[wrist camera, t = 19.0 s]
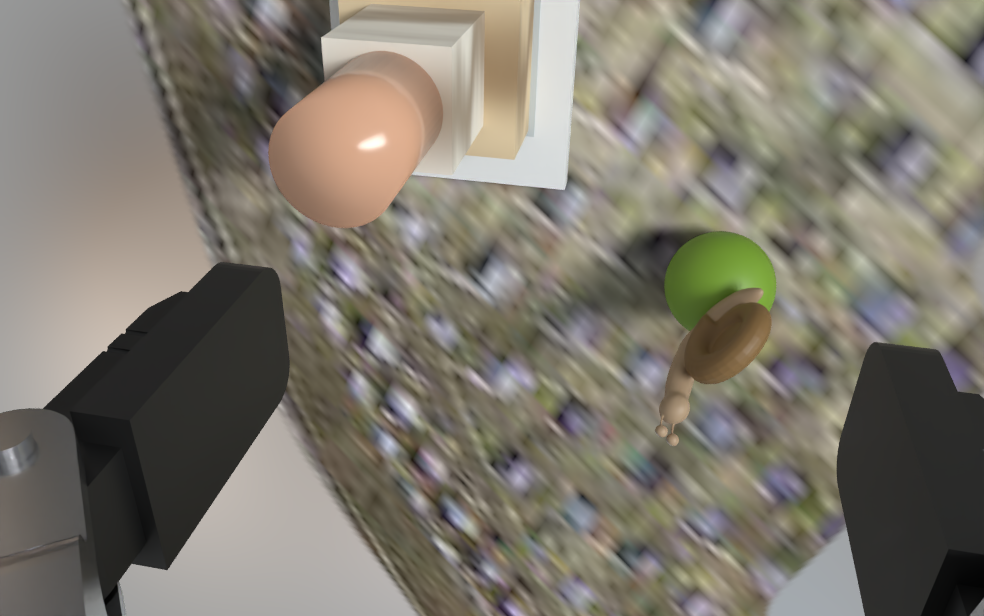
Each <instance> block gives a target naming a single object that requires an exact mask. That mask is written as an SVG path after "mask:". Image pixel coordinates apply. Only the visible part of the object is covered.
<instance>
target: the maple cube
mask: <svg viewBox="0 0 984 616" xmlns="http://www.w3.org/2000/svg"><path fill="white" fill-rule="evenodd" d="M321 43H322V55H323V67H324V80H325V81H326V80H327V79H329V78H330V77H331V76H332V75H334V74H335V73H336V72H337V71H339V70H340V69H341V68H342V67H344V66H345V65H346V64H347V63H349V62H350V61H351V60H353V59H354V58H356V57H357V56H360V55H362V54H364V53H368V52H372V51H389V52H394V53H398V54H401V55H403V56H406V57H408V58H409V59H411V60H413V61H414V62H416V63H417V64H418V65H420V66H421V67H422V68H423V69H424V70H425V71H426V72H427V73H428V75H429V76H430V77H431V78H432V80H433V82H434V83H435V85H436V87H437V89H438V91H439V94H440V97H441V100H442V105H443V122H442V128H441V131H440V134H439V136H438V138H437V140H436V141H435V143H434V144H433V146H432V147H431V148H430V150H429V151H428V152H427V154H426V155H425V157H424V158H423V159H422V161H421V162H420V163H419V165H418V166H417V168H416V169H415V170H414V172H421V173H432V174H442V175H453V174H454V172H455V170H456V169H457V167H458V165H459V164H460V162H461V161H462V159H463V157H464V156H465V154H466V153H467V151H468V149H469V148H470V146H471V144H472V143H473V141H474V140H475V138H476V136H477V135H478V133H479V132H480V130H481V128H482V127H483V116H484V47H485V11H476V10H461V9H445V8H430V7H414V6H399V5H384V4H370V5H369V6H367V7H366V8H364V9H363V10H361V11H360V12H358V13H357V14H355V15H354V16H352V17H351V18H349V19H348V20H346V21H345V22H343V23H342V24H340V25H339V26H338V27H336V28H335V29H333V30H332V31H330V32H329V33H327V34H326V35H324V36H323V37H321Z"/></svg>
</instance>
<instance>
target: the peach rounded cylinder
mask: <svg viewBox="0 0 984 616" xmlns="http://www.w3.org/2000/svg"><path fill="white" fill-rule="evenodd" d="M442 122H443V105H442V100H441V97H440V94H439V91H438V89H437V87H436V85H435V83H434V82H433V80H432V78H431V77H430V76H429V75H428V73H427V72H426V71H425V70H424V69H423V68H422V67H421V66H420V65H418V64H417V63H416V62H414V61H413V60H411V59H409V58H408V57H406V56H403V55H401V54H398V53H394V52H389V51H372V52H368V53H364V54H362V55H360V56H357V57H356V58H354V59H353V60H351V61H350V62H349V63H347V64H346V65H345V66H344V67H342V68H341V69H340V70H339V71H337V72H336V73H335V74H334V75H332V76H331V77H330V78H329V79H327V80H326V81H325V82H324V83H322V84H321V85H320V86H319V87H317V88H316V89H315V90H314V91H312V92H311V93H310V94H309V95H307V96H306V97H305V98H303V99H302V100H301V101H300V102H298V103H297V104H296V105H295V106H293V107H292V108H291V109H290V110H288V111H287V112H286V113H285V114H284V115H283V116H282V117H281V118H280V119H279V121H278V122H277V124H276V125H275V127H274V129H273V132H272V134H271V137H270V142H269V151H268V154H269V164H270V169H271V172H272V175H273V178H274V180H275V182H276V185H277V186H278V188H279V190H280V191H281V193H282V194H283V196H284V197H285V198H286V199H287V201H288V202H289V203H290V204H291V205H292V206H293V207H294V208H296V209H297V210H298V211H299V212H300V213H302V214H303V215H305V216H306V217H308V218H310V219H312V220H313V221H316V222H318V223H320V224H324V225H327V226H331V227H337V228H352V227H357V226H362V225H364V224H367V223H369V222H371V221H373V220H375V219H376V218H377V217H379V216H380V215H381V214H382V213H383V212H384V211H385V210H386V209H387V207H388V206H389V205H390V203H391V202H392V201H393V199H394V198H395V196H396V195H397V194H398V192H399V191H400V190H401V188H402V187H403V185H404V184H405V183H406V181H407V180H408V179H409V177H410V176H411V174H412V173H413V172H414V170H415V169H416V168H417V166H418V165H419V163H420V162H421V161H422V159H423V158H424V157H425V155H426V154H427V152H428V151H429V150H430V148H431V147H432V146H433V144H434V143H435V141H436V140H437V138H438V136H439V134H440V131H441V128H442Z"/></svg>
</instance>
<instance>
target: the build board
mask: <svg viewBox="0 0 984 616" xmlns="http://www.w3.org/2000/svg"><path fill="white" fill-rule="evenodd" d="M329 6H330V19H331V31H332V30H333V29H335V28H336V27H338V26H339V25H340V21H339V6H338V0H329ZM579 8H580V0H534V18H533V40H532V62H531V83H530V105H529V127H528V132H527V135H526V137H525V139H524V141H523V143H522V145H521V147H520V149H519V151H518V153H517V155H516V157H515V160H511V159H500V158H490V157H479V156H469V155H465V156H464V157H463V159H462V161H461V162H460V164H459V165H458V167H457V169H456V170H455V172H454V174H453V175H442V174H432V173H421V172H413V173H412V174H411V175H420V176H430V177H440V178H450V179H460V180H470V181H480V182H490V183H500V184H510V185H521V186H531V187H541V188H551V189H561V190H565V187H566V183H567V173H568V160H569V146H570V132H571V118H572V104H573V91H574V77H575V63H576V49H577V36H578V22H579Z"/></svg>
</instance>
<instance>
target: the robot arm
mask: <svg viewBox="0 0 984 616" xmlns="http://www.w3.org/2000/svg"><path fill="white" fill-rule="evenodd" d="M289 365H290V361H289V351H288V343H287V335H286V327H285V319H284V310H283V302H282V294H281V286H280V281H279V277H278V275H277V273H276V271H275V270H274V269H272V268H268V267H259V266H251V265H243V264H234V263H226V262H220V263H218V264H216V265H215V266H214V267H213V268H212V269H211V270H210V271H209V272H208V273H207V274H206V275H205V276H204V277H203V278H202V279H201V280H200V281H199V282H198V283H197V284H196V285H195V286H194V287H193V288H192V289H191V290H190V291H189V292H182V291H181V292H179V293H177V294H175V295H173V296H171V297H169V298H167V299H165V300H163V301H161V302H159V303H157V304H155V305H153V306H151V307H149V308H148V309H147V310H146V311H145V312H143V313H142V314H141V315H140V316H139V317H138V318H137V319H136V320H135V321H134V322H133V323H132V324H131V325H130V326H129V327H128V328H127V329H126V333H125V334H121V335H119V337H117V338H116V339H115V340H114V341H113V342H112V343H111V344H110V345H109V346H108V350H107V352H105V351H103V352H102V353H101V354H100V355H98V356H97V357H96V358H95V359H94V360H93V361H92V362H91V363H90V364H89V365H88V366H87V367H86V368H85V369H84V370H83V371H82V372H81V373H80V374H79V375H78V376H77V377H76V378H74V379H73V380H72V381H71V382H70V383H69V384H68V385H67V386H66V387H65V388H64V389H63V390H62V391H61V392H60V393H59V394H58V395H57V396H56V397H55V398H53V399H52V400H51V401H50V402H49V403H48V404H47V405H46V406H45V407H44V408H43V409H30V408H29V409H18V410H12V411H7V412H3V413H0V616H126V611H125V604H124V598H123V594H122V590H121V587H120V583H119V580H120V579H121V577H122V576H123V575H124V573H125V572H126V571H127V569H128V568H129V566H130V565H131V564H136V565H142V566H148V567H153V568H158V569H164V570H168V568H169V567H170V565H171V564H172V562H173V561H174V559H175V558H176V556H177V555H178V553H179V552H180V550H181V549H182V547H183V546H184V544H185V543H186V541H187V540H188V539H189V537H190V536H191V534H192V532H193V531H194V530H195V528H196V527H197V525H198V524H199V522H200V521H201V519H202V518H203V516H204V515H205V513H206V512H207V510H208V509H209V507H210V506H211V504H212V503H213V501H214V500H215V498H216V497H217V495H218V494H219V492H220V491H221V489H222V488H223V486H224V485H225V483H226V482H227V480H228V479H229V477H230V476H231V474H232V473H233V472H234V470H235V468H236V467H237V466H238V464H239V462H240V461H241V460H242V458H243V457H244V455H245V454H246V452H247V451H248V449H249V447H250V446H251V445H252V443H253V442H254V440H255V439H256V437H257V436H258V434H259V433H260V431H261V430H262V428H263V427H264V425H265V424H266V422H267V421H268V419H269V418H270V416H271V415H272V413H273V412H274V410H275V409H276V407H277V406H278V404H279V403H280V401H281V400H282V397H283V395H284V392H285V390H286V386H287V382H288V377H289ZM837 483H838V488H839V493H840V498H841V503H842V508H843V512H844V517H845V522H846V527H847V531H848V536H849V541H850V545H851V551H852V555H853V560H854V565H855V569H856V574H857V579H858V584H859V589H860V594H861V598H862V603H863V608H864V613H865V616H984V398H982V397H981V396H980V395H979V394H972V393H964V392H957V389H956V387H955V385H954V382H953V380H952V378H951V376H950V373H949V371H948V369H947V367H946V364H945V362H944V360H943V357H942V355H941V354H940V352H939V351H938V350H936V349H928V348H920V347H912V346H903V345H895V344H887V343H878V342H874V343H872V344H871V345H870V347H869V348H868V350H867V352H866V355H865V358H864V361H863V364H862V367H861V371H860V374H859V377H858V381H857V384H856V387H855V391H854V394H853V397H852V401H851V404H850V407H849V411H848V414H847V417H846V421H845V424H844V427H843V431H842V434H841V438H840V442H839V448H838V455H837Z"/></svg>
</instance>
